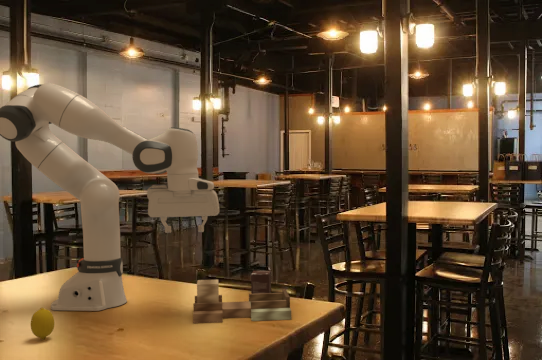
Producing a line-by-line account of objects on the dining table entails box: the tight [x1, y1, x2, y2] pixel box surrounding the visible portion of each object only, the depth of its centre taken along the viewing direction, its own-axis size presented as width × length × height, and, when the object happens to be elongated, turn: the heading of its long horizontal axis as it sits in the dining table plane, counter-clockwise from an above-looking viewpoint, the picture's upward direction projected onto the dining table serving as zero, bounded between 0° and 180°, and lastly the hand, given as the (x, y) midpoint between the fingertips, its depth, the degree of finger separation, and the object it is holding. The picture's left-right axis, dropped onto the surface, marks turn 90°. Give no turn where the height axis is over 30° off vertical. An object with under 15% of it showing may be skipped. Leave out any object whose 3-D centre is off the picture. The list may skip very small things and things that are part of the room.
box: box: [250, 270, 272, 294], centre depth 188 cm, size 6×6×7 cm
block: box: [196, 279, 220, 303], centre depth 164 cm, size 6×6×7 cm
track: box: [192, 288, 292, 324], centre depth 165 cm, size 27×16×6 cm, turn 95°
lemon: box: [30, 307, 55, 340], centre depth 143 cm, size 6×6×8 cm
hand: (184, 232), depth 164 cm, fingers open, 8 cm apart
